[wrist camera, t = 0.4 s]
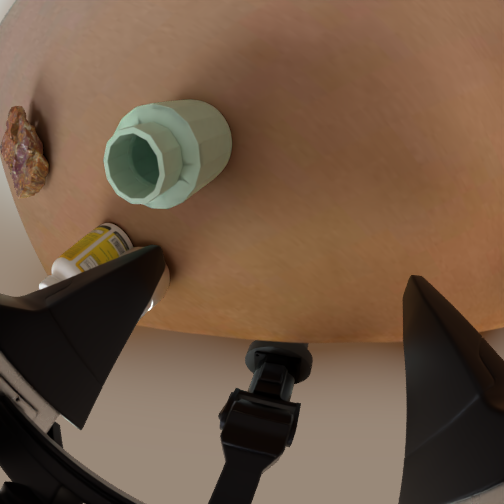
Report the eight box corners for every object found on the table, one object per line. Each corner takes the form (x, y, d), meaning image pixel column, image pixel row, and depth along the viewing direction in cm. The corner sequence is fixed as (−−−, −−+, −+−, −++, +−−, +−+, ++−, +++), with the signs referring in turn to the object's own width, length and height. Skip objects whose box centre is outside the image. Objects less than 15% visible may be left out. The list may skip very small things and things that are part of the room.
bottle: (235, 184, 21) (191, 225, 15) (160, 183, 23) (105, 219, 17) (229, 95, 17) (175, 97, 11) (150, 106, 19) (84, 120, 13)
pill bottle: (97, 249, 31) (39, 301, 22) (100, 212, 27) (29, 264, 18) (132, 275, 31) (77, 336, 22) (140, 239, 27) (71, 304, 18)
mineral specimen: (6, 138, 24) (-20, 137, 18) (39, 105, 24) (15, 97, 18) (32, 202, 28) (6, 210, 22) (67, 171, 29) (43, 174, 22)
